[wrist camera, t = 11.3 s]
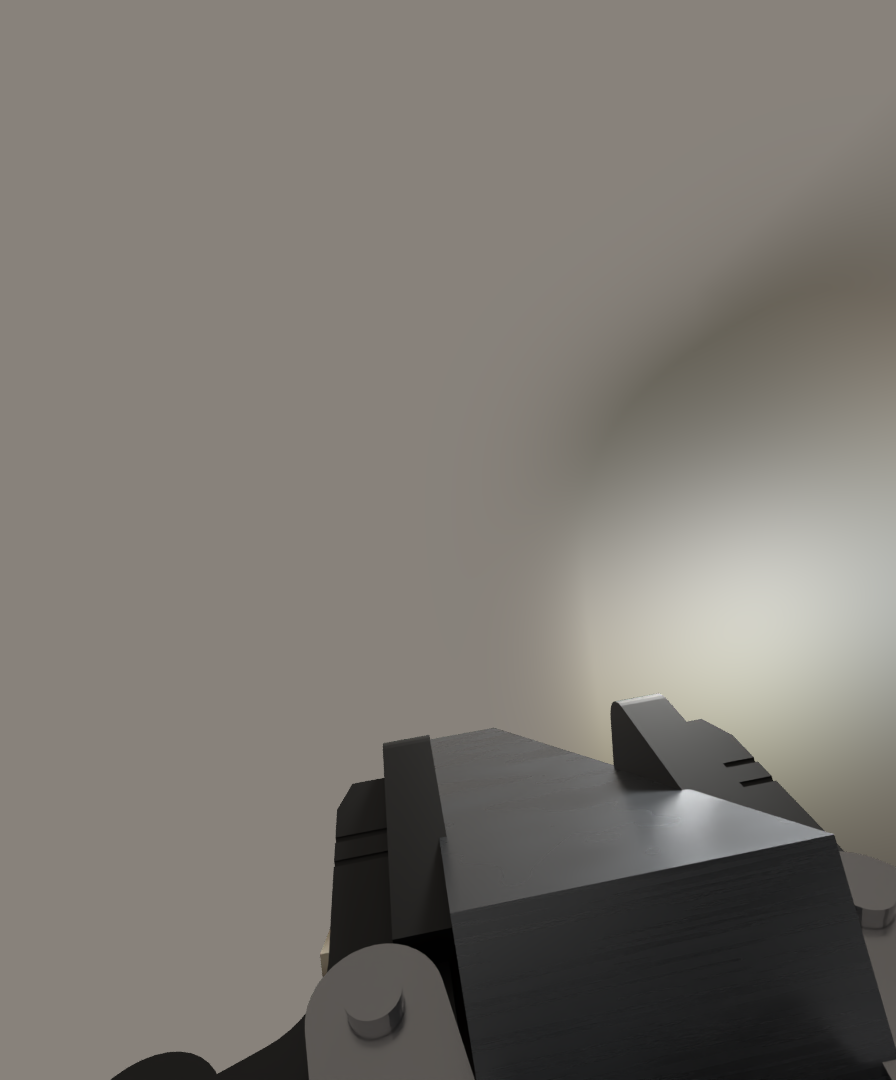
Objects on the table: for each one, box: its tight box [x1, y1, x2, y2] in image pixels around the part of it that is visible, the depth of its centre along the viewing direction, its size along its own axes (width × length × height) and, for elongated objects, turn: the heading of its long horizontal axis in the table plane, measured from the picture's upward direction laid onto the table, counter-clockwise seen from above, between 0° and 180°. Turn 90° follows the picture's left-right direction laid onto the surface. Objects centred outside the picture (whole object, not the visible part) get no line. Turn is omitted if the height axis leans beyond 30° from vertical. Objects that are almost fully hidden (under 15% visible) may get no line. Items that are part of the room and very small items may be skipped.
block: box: [430, 728, 896, 1080], centre depth 16 cm, size 24×3×2 cm, turn 2°
